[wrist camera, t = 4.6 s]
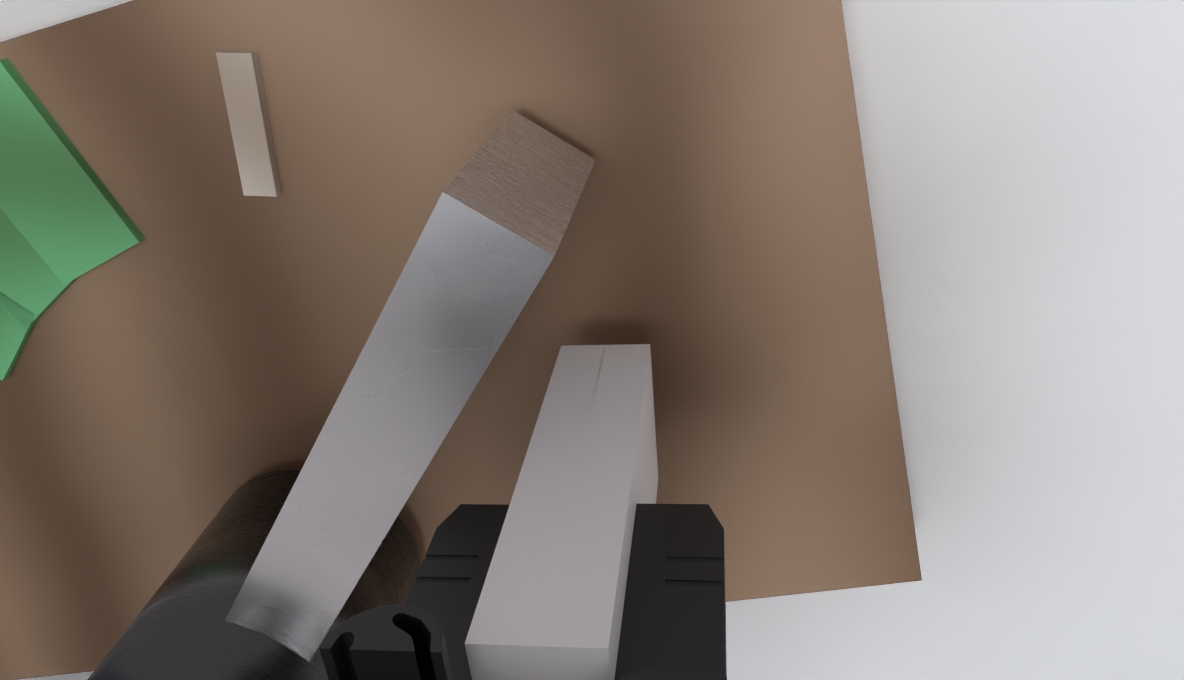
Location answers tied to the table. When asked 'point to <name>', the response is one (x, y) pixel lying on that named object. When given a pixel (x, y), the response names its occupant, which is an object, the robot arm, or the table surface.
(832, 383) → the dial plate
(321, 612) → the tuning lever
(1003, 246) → the table surface
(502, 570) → the robot arm
